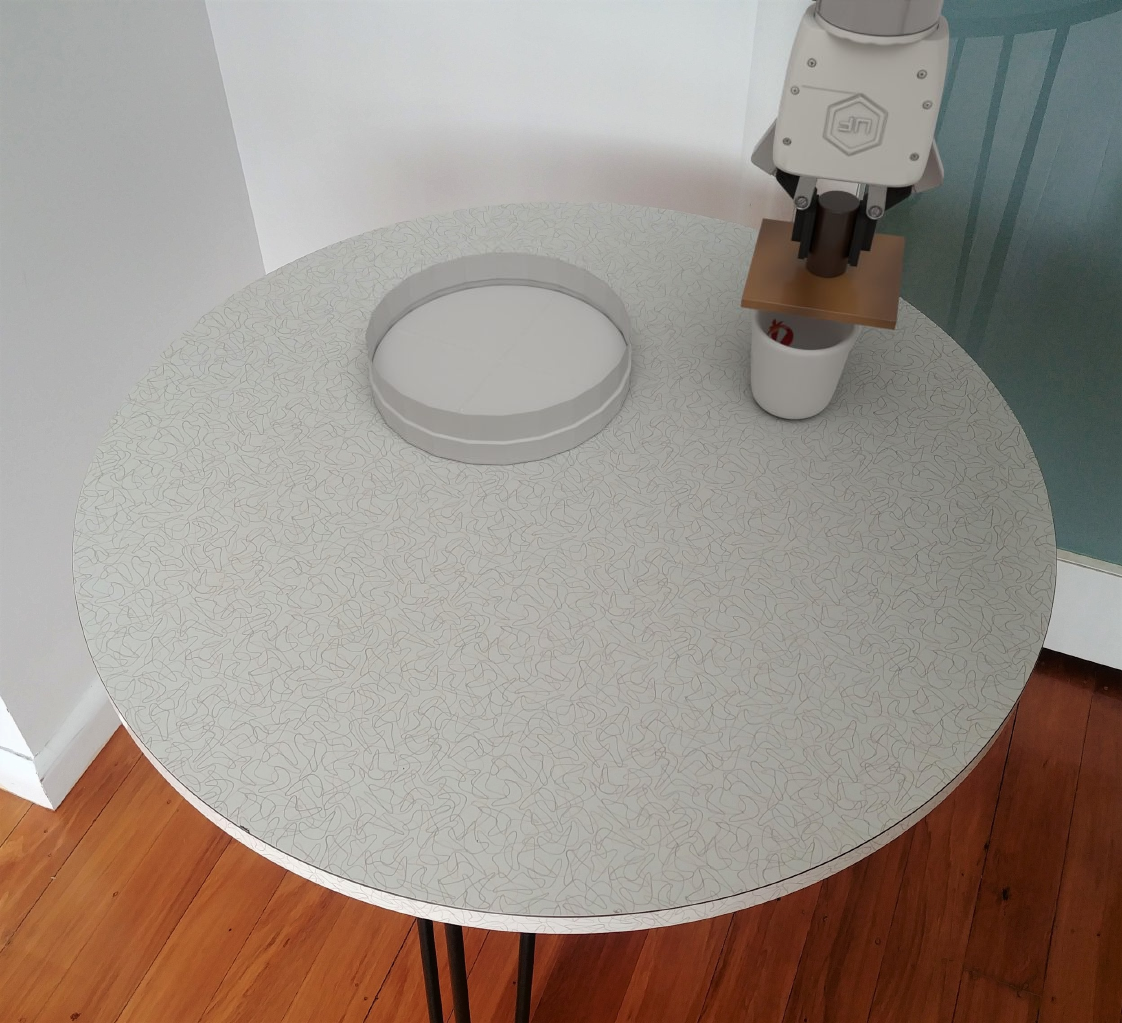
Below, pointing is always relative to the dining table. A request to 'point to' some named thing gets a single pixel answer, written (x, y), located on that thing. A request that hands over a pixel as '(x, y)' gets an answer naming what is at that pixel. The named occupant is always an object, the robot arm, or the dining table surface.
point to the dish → (499, 357)
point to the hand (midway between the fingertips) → (829, 250)
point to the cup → (797, 361)
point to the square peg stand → (826, 269)
